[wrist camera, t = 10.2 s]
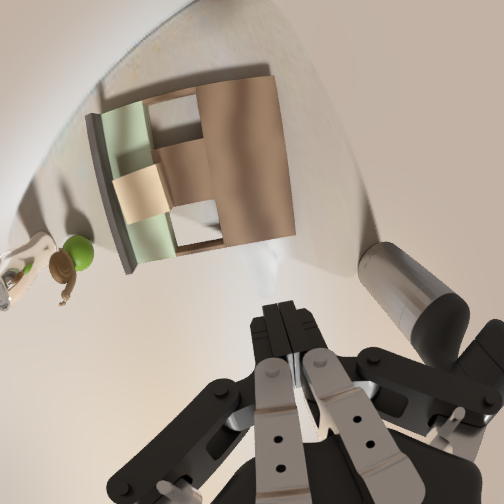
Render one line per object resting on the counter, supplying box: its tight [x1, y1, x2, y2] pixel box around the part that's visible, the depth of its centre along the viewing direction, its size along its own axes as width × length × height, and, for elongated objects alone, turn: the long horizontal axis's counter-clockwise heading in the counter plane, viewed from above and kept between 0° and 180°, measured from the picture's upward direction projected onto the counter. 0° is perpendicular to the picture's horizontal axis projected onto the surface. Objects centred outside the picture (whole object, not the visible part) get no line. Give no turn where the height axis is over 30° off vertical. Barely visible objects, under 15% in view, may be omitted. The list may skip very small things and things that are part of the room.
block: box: [112, 162, 174, 225], centre depth 32 cm, size 6×6×3 cm
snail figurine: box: [49, 235, 94, 306], centre depth 32 cm, size 5×6×12 cm
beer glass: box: [0, 232, 57, 311], centre depth 30 cm, size 7×7×15 cm
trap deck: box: [85, 76, 296, 275], centre depth 33 cm, size 24×22×6 cm
